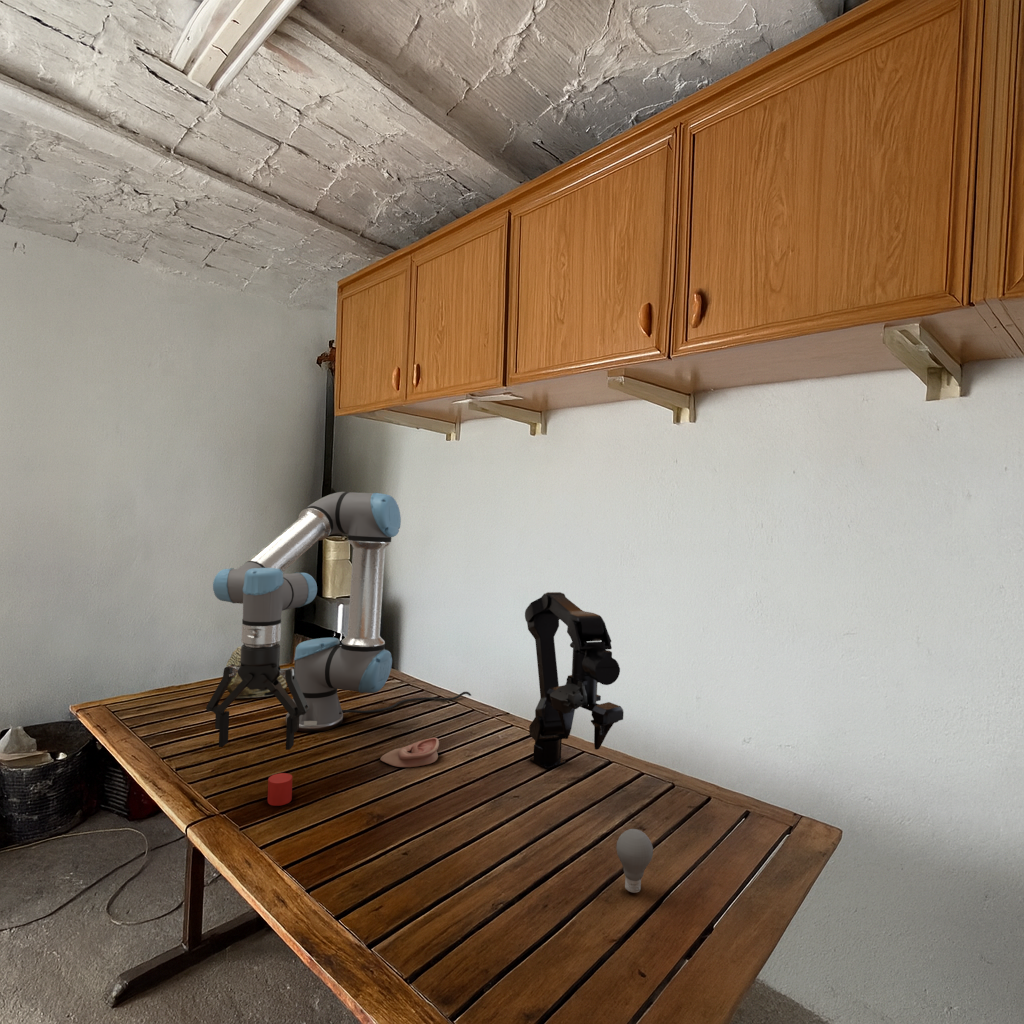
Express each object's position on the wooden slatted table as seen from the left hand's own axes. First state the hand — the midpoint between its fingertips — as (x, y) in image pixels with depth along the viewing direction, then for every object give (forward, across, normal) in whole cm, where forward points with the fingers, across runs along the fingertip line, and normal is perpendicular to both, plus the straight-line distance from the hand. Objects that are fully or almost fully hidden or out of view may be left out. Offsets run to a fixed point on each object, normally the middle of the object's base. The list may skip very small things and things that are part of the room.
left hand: (256, 746), depth 131 cm
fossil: (+11, -26, +68) cm, 73 cm away
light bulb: (+11, +73, -26) cm, 79 cm away
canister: (+11, +5, 0) cm, 12 cm away
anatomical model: (+11, +29, +24) cm, 39 cm away
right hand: (-1, +68, +8) cm, 69 cm away
